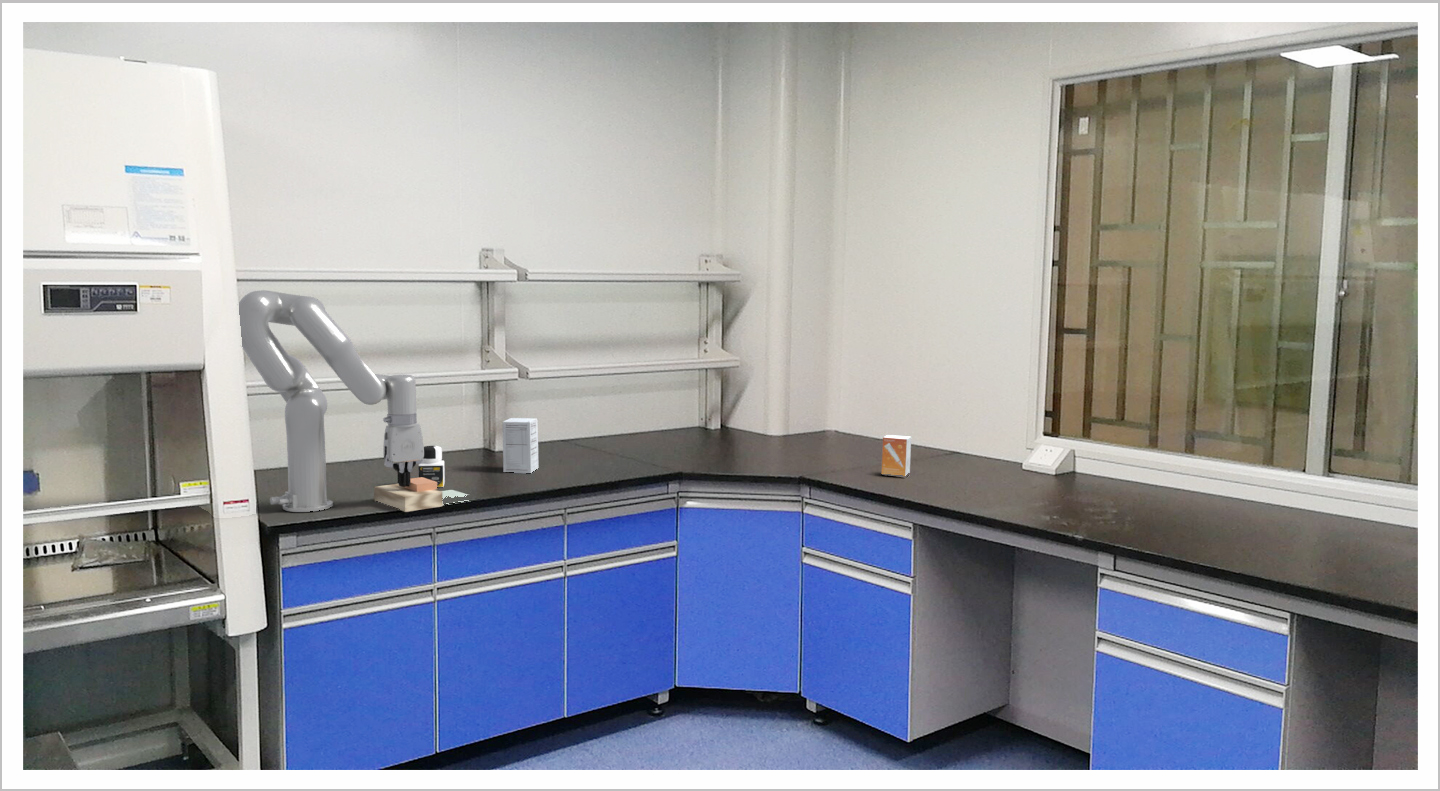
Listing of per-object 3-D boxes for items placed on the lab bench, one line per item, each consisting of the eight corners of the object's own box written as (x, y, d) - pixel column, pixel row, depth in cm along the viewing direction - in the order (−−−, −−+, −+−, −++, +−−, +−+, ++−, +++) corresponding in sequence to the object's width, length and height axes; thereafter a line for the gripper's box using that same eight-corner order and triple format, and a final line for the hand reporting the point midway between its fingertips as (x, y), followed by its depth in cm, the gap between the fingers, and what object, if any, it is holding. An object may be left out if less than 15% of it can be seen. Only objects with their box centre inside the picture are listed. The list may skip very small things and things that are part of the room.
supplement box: (539, 469, 350) (539, 418, 348) (531, 474, 341) (531, 421, 339) (510, 468, 351) (510, 417, 349) (502, 473, 342) (501, 421, 340)
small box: (881, 476, 346) (882, 436, 345) (885, 473, 352) (887, 434, 350) (905, 478, 343) (907, 438, 341) (910, 475, 349) (911, 436, 347)
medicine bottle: (418, 488, 315) (417, 448, 314) (420, 483, 322) (419, 444, 321) (443, 488, 317) (442, 448, 315) (444, 483, 324) (444, 444, 322)
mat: (442, 505, 293) (442, 504, 293) (414, 496, 305) (414, 494, 305) (480, 499, 302) (480, 498, 301) (451, 490, 313) (451, 489, 313)
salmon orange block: (437, 489, 295) (437, 482, 295) (417, 491, 291) (416, 484, 291) (422, 484, 302) (422, 477, 302) (402, 486, 298) (402, 479, 298)
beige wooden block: (405, 511, 285) (405, 497, 284) (374, 500, 298) (374, 486, 297) (442, 506, 292) (442, 491, 292) (410, 495, 305) (410, 481, 305)
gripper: (382, 424, 283) (384, 491, 286) (434, 419, 294) (435, 484, 296) (370, 421, 289) (372, 487, 291) (420, 416, 299) (422, 480, 301)
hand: (404, 485), depth 293 cm, fingers closed
